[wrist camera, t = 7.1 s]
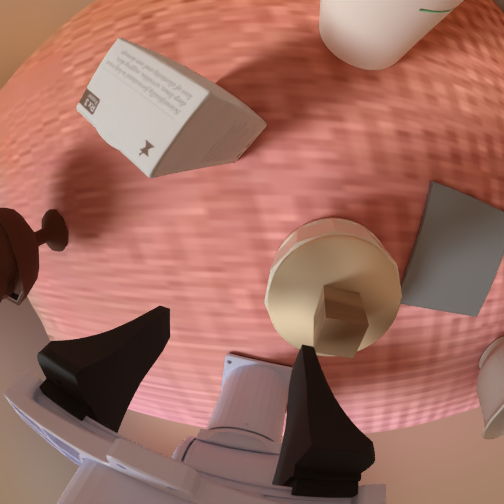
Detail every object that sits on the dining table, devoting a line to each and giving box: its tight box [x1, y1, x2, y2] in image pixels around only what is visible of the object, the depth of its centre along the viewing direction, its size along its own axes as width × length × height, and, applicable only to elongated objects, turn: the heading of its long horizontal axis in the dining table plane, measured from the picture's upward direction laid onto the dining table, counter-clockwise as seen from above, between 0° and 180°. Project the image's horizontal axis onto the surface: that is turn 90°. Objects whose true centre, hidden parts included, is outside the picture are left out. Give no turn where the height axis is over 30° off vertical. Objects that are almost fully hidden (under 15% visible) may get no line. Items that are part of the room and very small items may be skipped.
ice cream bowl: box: [0, 208, 68, 305], centre depth 20 cm, size 11×11×15 cm
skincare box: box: [77, 38, 267, 178], centre depth 14 cm, size 6×4×12 cm
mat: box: [400, 181, 504, 317], centre depth 19 cm, size 11×11×1 cm
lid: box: [268, 235, 401, 358], centre depth 16 cm, size 10×10×5 cm
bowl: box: [264, 218, 402, 331], centre depth 20 cm, size 10×10×4 cm
